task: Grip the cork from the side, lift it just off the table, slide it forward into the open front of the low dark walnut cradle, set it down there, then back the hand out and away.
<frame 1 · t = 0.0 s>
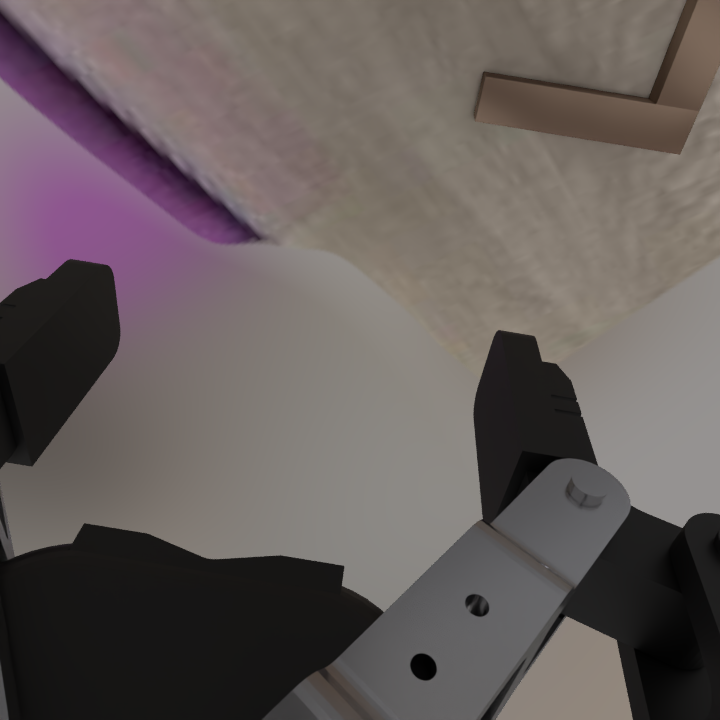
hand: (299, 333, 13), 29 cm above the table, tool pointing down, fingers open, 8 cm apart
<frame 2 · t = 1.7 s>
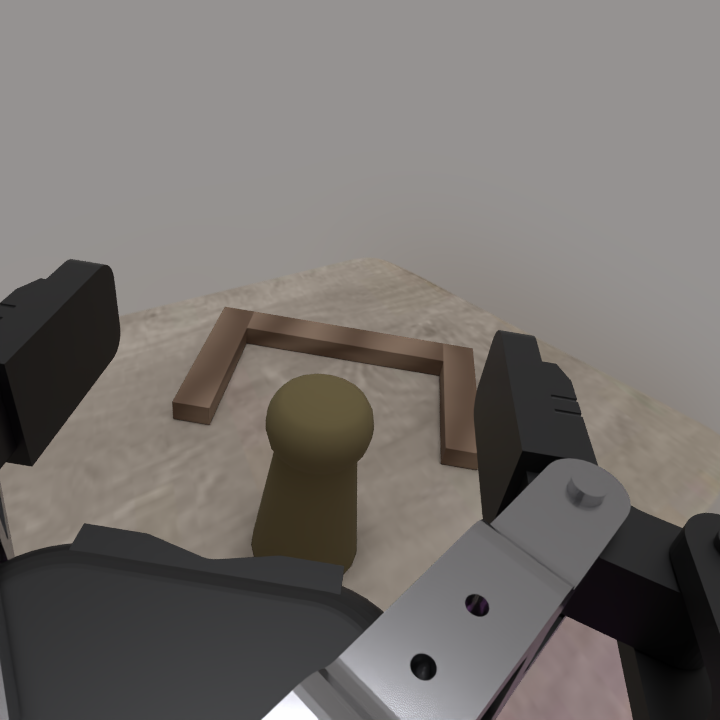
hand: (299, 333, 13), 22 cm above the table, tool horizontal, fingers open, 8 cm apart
cork: (304, 543, 34), on the table
walnut cradle: (334, 397, 45), on the table
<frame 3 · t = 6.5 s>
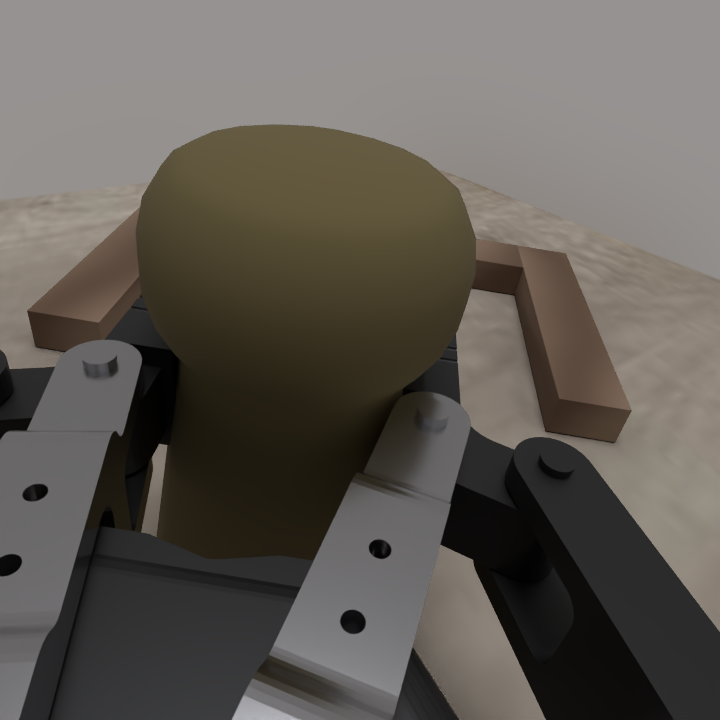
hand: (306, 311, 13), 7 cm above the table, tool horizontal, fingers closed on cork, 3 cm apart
cork: (276, 597, 15), on the table, touching gripper
walnut cradle: (341, 321, 25), on the table
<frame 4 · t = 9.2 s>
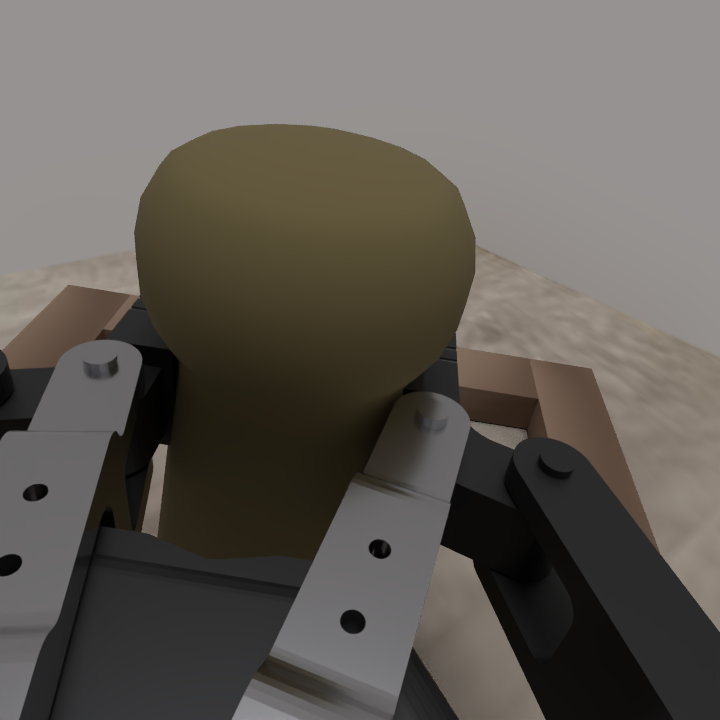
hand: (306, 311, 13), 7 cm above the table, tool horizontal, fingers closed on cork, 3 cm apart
cork: (277, 598, 15), point 1 cm above the table, touching gripper
walnut cradle: (293, 497, 19), on the table
when the fingers open (7 cm above the table, at t = 12.2 s): cork stays where it is, on the table.
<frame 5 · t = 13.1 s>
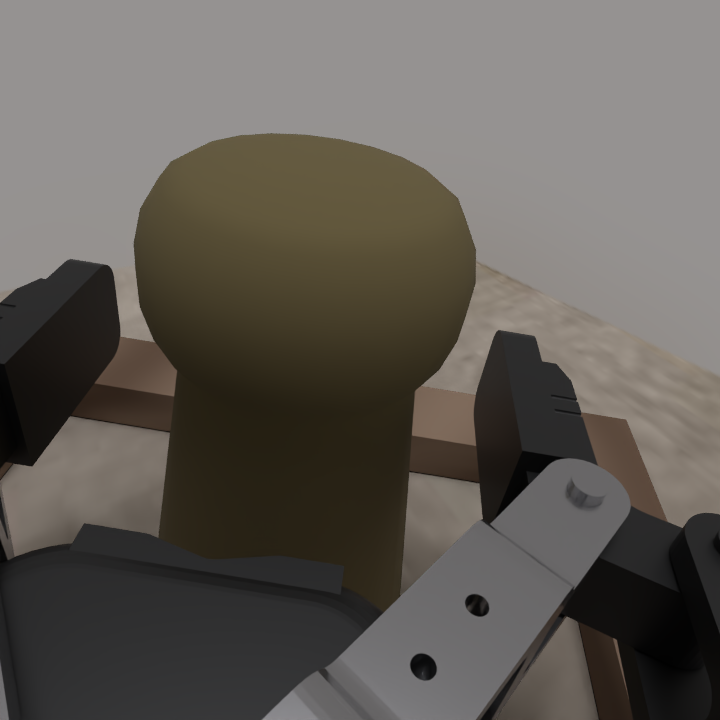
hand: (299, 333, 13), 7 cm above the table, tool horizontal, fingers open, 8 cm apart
cork: (277, 602, 15), on the table
walnut cradle: (267, 594, 15), on the table
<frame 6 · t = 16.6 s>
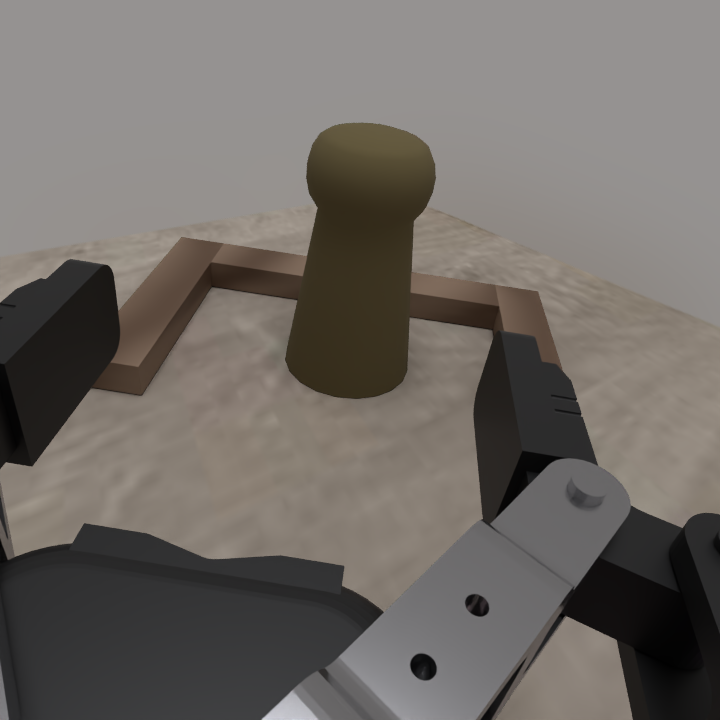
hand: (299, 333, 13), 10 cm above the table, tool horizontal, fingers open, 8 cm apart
cork: (346, 362, 30), on the table
walnut cradle: (340, 357, 30), on the table
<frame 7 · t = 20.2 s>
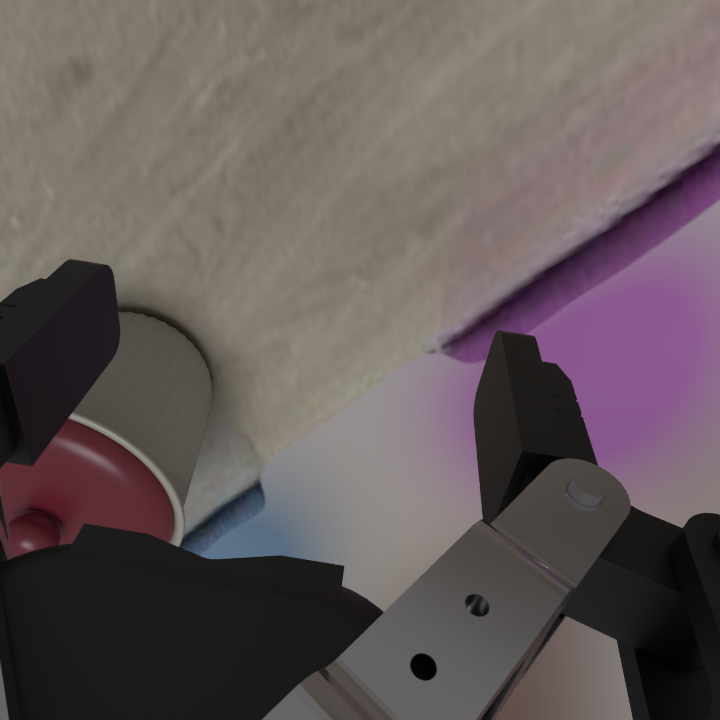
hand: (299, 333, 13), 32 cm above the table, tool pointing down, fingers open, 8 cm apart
canister: (147, 363, 55), on the table
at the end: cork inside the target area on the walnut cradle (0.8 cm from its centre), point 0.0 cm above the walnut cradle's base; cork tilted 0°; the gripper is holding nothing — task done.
